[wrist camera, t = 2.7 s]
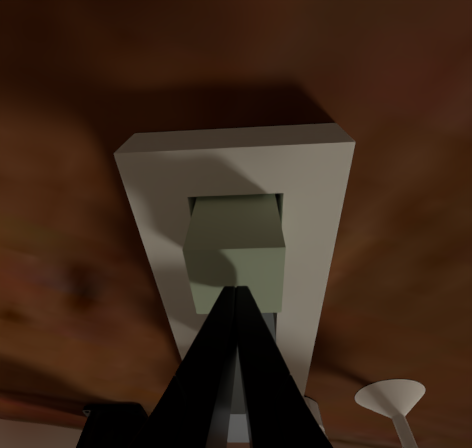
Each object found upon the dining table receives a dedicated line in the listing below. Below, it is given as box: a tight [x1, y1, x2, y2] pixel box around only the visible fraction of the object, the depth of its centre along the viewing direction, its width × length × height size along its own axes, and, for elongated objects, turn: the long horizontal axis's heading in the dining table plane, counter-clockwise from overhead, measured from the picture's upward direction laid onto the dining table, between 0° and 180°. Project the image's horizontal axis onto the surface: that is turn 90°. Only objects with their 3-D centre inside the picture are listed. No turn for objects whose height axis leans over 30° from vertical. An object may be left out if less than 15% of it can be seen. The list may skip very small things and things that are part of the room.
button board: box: [113, 123, 355, 397], centre depth 17 cm, size 9×22×2 cm, turn 3°
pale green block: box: [182, 193, 286, 314], centre depth 12 cm, size 3×3×5 cm
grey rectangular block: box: [227, 313, 276, 443], centre depth 14 cm, size 3×3×5 cm
